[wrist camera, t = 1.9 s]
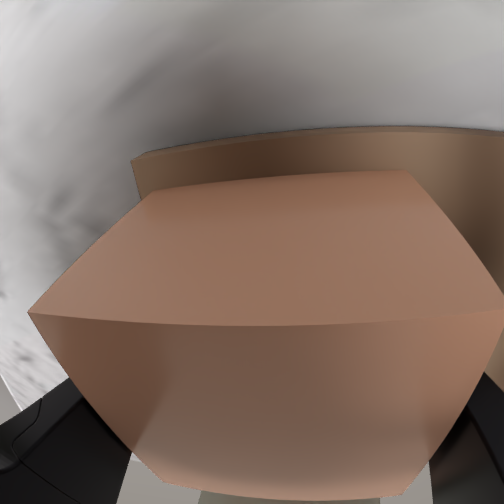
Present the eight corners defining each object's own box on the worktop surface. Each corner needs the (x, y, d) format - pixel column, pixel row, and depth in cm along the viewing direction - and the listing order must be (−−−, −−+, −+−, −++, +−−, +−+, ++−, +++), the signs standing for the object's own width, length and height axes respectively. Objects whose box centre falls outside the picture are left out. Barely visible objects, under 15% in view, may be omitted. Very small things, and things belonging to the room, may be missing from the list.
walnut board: (610, 151, 6) (625, 159, 5) (499, 426, 15) (502, 437, 14) (145, 152, 10) (130, 160, 9) (243, 448, 18) (240, 460, 18)
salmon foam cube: (406, 170, 8) (511, 307, 3) (387, 357, 11) (401, 494, 6) (153, 190, 9) (27, 311, 4) (206, 358, 12) (163, 482, 8)
